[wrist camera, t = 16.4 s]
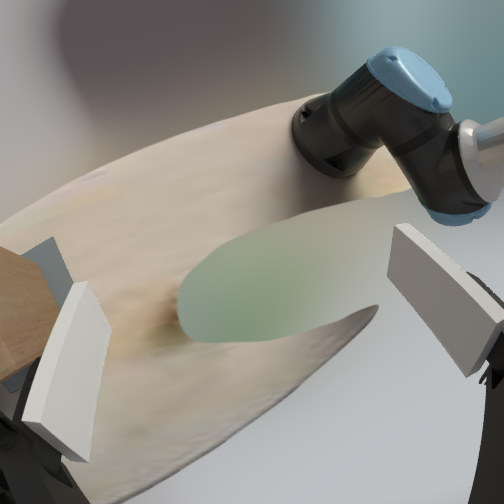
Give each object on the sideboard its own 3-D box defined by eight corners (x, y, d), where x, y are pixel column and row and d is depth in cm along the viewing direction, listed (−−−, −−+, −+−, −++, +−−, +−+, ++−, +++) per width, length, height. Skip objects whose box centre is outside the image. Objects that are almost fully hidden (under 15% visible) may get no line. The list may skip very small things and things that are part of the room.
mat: (53, 237, 32) (52, 236, 31) (104, 340, 32) (103, 340, 32) (-35, 294, 25) (-37, 294, 25) (12, 392, 26) (10, 393, 25)
